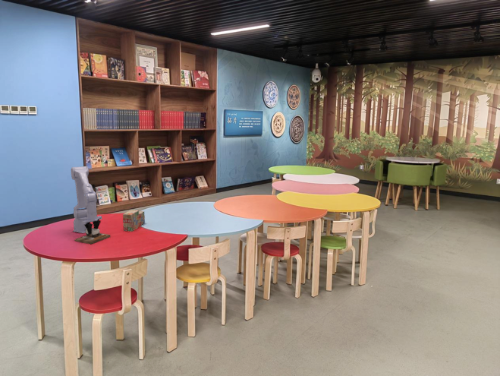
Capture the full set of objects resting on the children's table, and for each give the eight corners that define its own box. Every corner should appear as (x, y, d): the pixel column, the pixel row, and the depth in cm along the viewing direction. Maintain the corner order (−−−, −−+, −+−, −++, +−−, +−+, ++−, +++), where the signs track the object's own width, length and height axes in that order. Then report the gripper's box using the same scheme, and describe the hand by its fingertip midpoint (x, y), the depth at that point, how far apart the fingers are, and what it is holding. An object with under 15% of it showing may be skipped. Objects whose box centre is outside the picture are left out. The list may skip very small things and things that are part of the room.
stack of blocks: (137, 223, 280) (136, 206, 278) (145, 223, 279) (144, 207, 277) (123, 231, 259) (122, 213, 257) (132, 231, 258) (131, 214, 256)
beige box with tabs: (84, 235, 241) (84, 229, 240) (90, 233, 245) (89, 227, 244) (94, 237, 238) (94, 230, 237) (99, 235, 242) (99, 229, 241)
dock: (74, 241, 237) (74, 237, 237) (94, 234, 252) (93, 230, 251) (91, 244, 232) (91, 240, 231) (110, 237, 246) (110, 233, 246)
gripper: (87, 215, 230) (88, 236, 233) (105, 210, 243) (106, 230, 246) (78, 213, 233) (80, 235, 235) (96, 208, 246) (97, 229, 248)
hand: (92, 232), depth 241 cm, fingers closed on beige box with tabs, 4 cm apart
